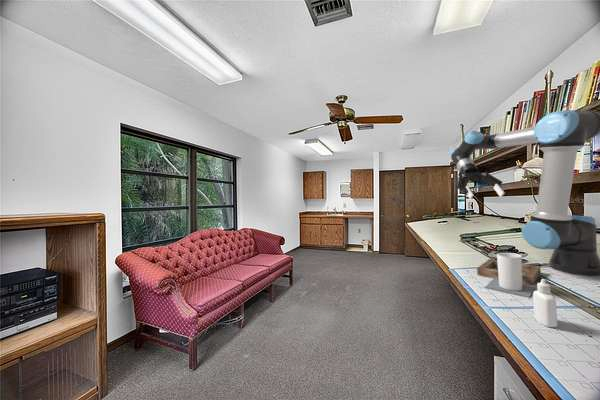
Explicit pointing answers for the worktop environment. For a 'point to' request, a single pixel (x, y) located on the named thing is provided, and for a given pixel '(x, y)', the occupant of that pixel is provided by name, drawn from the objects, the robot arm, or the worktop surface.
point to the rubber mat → (525, 291)
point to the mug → (510, 271)
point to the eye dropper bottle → (544, 305)
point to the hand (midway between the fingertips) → (487, 196)
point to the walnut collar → (531, 271)
